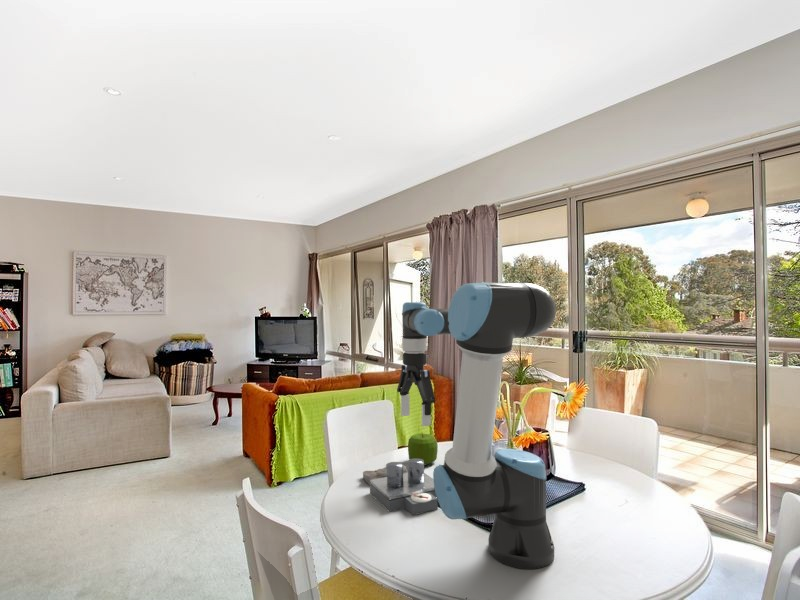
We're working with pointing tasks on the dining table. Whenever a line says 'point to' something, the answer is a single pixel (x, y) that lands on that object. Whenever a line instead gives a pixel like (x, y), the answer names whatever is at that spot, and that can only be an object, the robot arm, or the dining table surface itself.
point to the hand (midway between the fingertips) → (415, 420)
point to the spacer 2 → (415, 471)
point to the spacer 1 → (394, 474)
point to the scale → (408, 501)
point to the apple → (423, 448)
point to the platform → (403, 487)
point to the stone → (377, 474)
